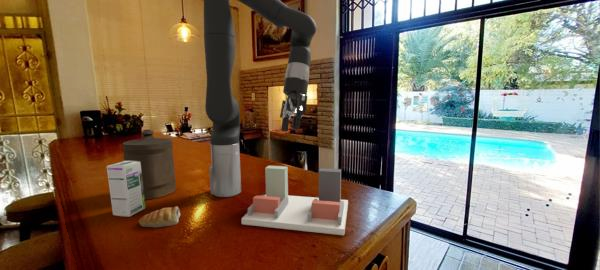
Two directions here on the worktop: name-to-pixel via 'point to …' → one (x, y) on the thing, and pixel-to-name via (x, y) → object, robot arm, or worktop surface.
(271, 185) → the pale green tall block
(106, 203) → the worktop surface
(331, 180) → the grey upright block
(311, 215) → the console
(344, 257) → the worktop surface
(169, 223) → the pastry
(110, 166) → the syrup box
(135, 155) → the grey canister
